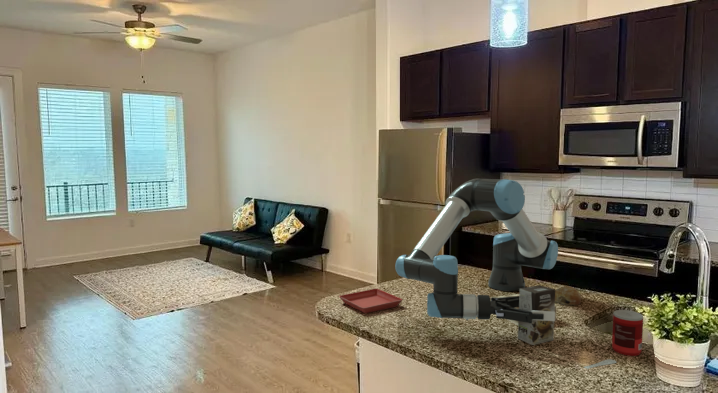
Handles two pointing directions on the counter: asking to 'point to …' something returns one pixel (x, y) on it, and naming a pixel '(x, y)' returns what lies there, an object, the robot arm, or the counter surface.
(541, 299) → the coffee box
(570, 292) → the bread roll
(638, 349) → the canned food
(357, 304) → the plant saucer
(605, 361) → the butter knife
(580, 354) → the counter surface
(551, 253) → the robot arm
